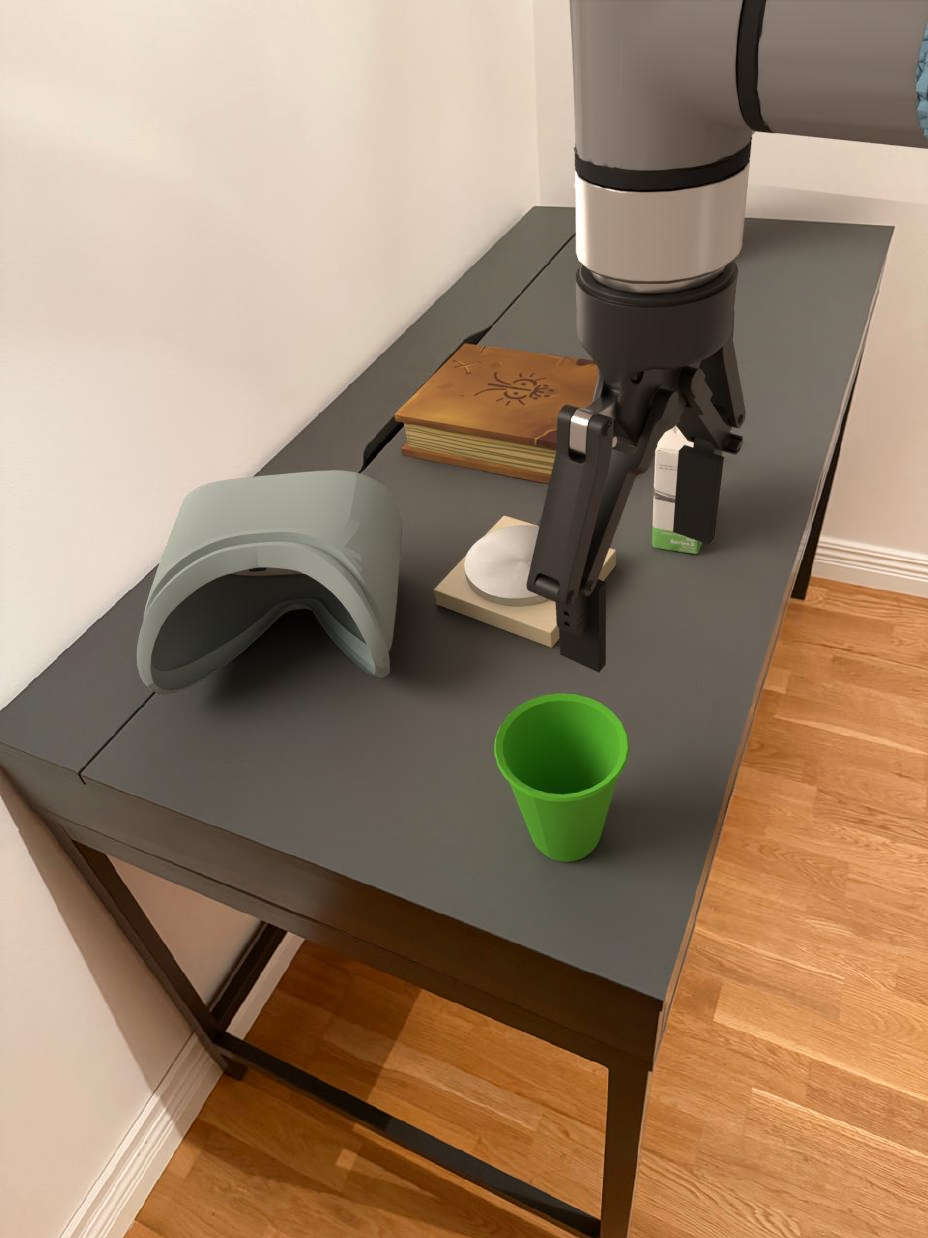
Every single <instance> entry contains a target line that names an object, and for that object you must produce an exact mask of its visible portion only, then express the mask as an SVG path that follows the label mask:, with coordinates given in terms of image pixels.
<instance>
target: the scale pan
mask: <svg viewBox="0 0 928 1238" xmlns="http://www.w3.org/2000/svg"><path fill="white" fill-rule="evenodd" d="M539 526H540V525H537V526H531V525H520V526H511V527H506V528H502V529H499V530H496V531H494V532H491V533H489V534H487V533H486V534H487V535H486V534H485V535H484V536H482V537H480V538H479V539H478V540H477V541H475V542H474V543H473V544H472V545H471V547H470V548H469V550H468V551H467V553H466V555H465V556H466V558H465V562H464V569H465V576H466V580H467V582H468V584H469V586H470V587H471V589H472V590H473V591H474V592H475V593H477V594H478V595H479V596H481V597H482V598H484V599H486V600H488V601H490V602H493V603H497V604H501V605H507V606H528V605H534V604H538V603H542V602H545V601H547V600H549V599H547V598H544V597H542V596H540V595H538V594H535V593H533V592H531V591H528V590H527V587H526V585H527V579H528V575H529V570H530V566H531V561H532V557H533V553H534V548H535V544H536V539H537V535H538V530H539Z"/></svg>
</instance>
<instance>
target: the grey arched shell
mask: <svg viewBox="0 0 928 1238" xmlns="http://www.w3.org/2000/svg"><path fill="white" fill-rule="evenodd" d="M402 536H403V520H402V516H401V512H400V509H399V506H398V503H397V502H396V500H395V498H394V496H393V495H392V493H391V492H390V491H389V489H387V487H386V486H384V485H383V484H382V483H380V482H379V481H378V480H376V479H374V478H372V477H370V476H368V475H365V474H362V473H360V472H355V471H351V470H339V469H338V470H337V469H336V470H333V469H331V470H315V471H314V470H313V471H299V472H290V473H281V474H280V473H279V474H268V475H267V474H266V475H259V476H258V475H257V476H256V475H255V476H247V477H238V478H230V479H223V480H216V481H214V482H208V483H206V484H203V485H200V486H198V487H196V488H195V489H193V490H192V491H190V492H189V493H188V494H187V495H186V496H185V497H184V498H183V499H182V502H181V505H180V508H179V509H178V513H177V516H176V519H175V520H174V523H173V526H172V528H171V531H170V534H169V537H168V539H167V542H166V545H165V547H164V550H163V552H162V555H161V558H160V560H159V563H158V566H157V569H156V572H155V575H154V578H153V581H152V584H151V587H150V590H149V594H148V597H147V600H146V603H145V607H144V612H143V621H142V624H141V628H140V630H139V635H138V640H137V646H136V665H137V670H138V675H139V677H140V679H141V680H142V683H143V684H144V685H145V686H146V687H147V688H148V689H149V690H150V691H152V692H153V693H156V694H158V695H169V694H170V695H171V694H175V693H177V692H178V693H179V692H181V691H183V690H186V689H188V688H190V687H192V686H194V685H197V683H200V682H201V681H203V680H206V679H207V678H209V676H211V675H213V674H215V673H216V672H218V671H219V670H220V669H222V668H224V667H225V666H226V665H227V664H229V663H230V662H232V661H233V660H234V659H236V658H237V657H238V656H240V654H242V653H243V652H244V651H246V650H247V649H248V648H249V647H250V646H251V645H252V644H253V643H255V642H256V641H257V640H258V639H259V638H260V637H261V636H262V635H263V634H264V633H265V632H266V631H268V629H270V628H271V626H272V625H273V624H275V622H276V621H277V620H278V619H279V618H281V617H282V616H283V615H284V614H286V613H289V612H291V611H295V610H309V611H312V613H313V615H314V616H315V618H316V619H317V621H318V623H319V624H320V626H321V627H322V629H323V631H324V632H325V633H326V634H327V635H328V637H329V638H330V639H331V641H332V642H333V643H334V644H335V645H336V647H338V649H340V651H342V652H343V654H344V655H345V656H346V657H347V658H348V659H349V660H351V662H353V663H354V664H355V665H356V666H357V667H359V669H361V670H363V671H364V672H365V673H366V674H369V675H371V676H373V677H377V678H381V679H384V678H385V677H386V676H388V675H389V674H390V673H391V665H390V664H391V663H390V654H389V653H390V651H391V649H392V645H393V639H394V632H395V631H394V630H395V622H396V613H397V603H398V592H399V591H398V590H399V576H400V565H401V564H400V563H401V551H402V539H403V538H402Z"/></svg>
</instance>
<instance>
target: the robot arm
mask: <svg viewBox="0 0 928 1238" xmlns="http://www.w3.org/2000/svg"><path fill="white" fill-rule="evenodd" d="M568 2H569V17H570V37H571V55H572V56H571V57H572V84H573V85H572V87H573V109H574V110H573V116H574V117H573V118H574V147H573V152H574V171H575V176H574V177H575V179H574V181H573V188H574V189H573V190H574V192H575V254H576V256H577V260H578V262H580V265H579V267H578V269H577V270H576V273H575V314H576V315H575V316H576V317H575V320H576V336H577V340H578V342H579V344H580V345H581V347H582V348H583V349H584V351H585V352H586V353H587V354H588V355H589V356H590V358H591V360H593V361H594V362H595V363H596V365H597V367H598V370H599V372H598V379H597V384H596V388H595V392H594V396H593V402H592V403H590V404H589V405H587V406H586V407H584V408H578V407H575V406H572V405H568V404H566V405H564V406H563V407H562V408H561V410H560V412H559V414H558V418H557V438H556V455H555V459H554V464H553V468H552V473H551V477H550V482H549V484H548V487H547V491H546V496H545V499H544V500H545V501H544V504H543V509H542V513H541V517H540V522H539V525H538V526H539V530H538V535H537V539H536V544H535V548H534V553H533V557H532V561H531V566H530V570H529V575H528V579H527V585H526V587H527V590H528V591H531V592H533V593H535V594H538V595H540V596H542V597H544V598H547V599H549V600H551V601H554V602H555V604H556V616H557V617H556V624H557V626H558V628H559V639H558V640H559V655H560V656H562V657H564V658H567V659H568V660H570V661H573V662H575V663H577V664H579V665H581V666H584V667H585V668H587V669H590V670H591V671H594V672H596V673H600V672H602V670H603V669H604V668H605V666H606V665H607V581H605V580H604V581H602V580H600V579H598V578H599V575H600V572H601V570H602V567H603V564H604V562H605V559H606V556H607V553H608V551H609V548H611V545H612V543H613V540H614V537H615V534H616V532H617V530H618V526H619V524H620V522H621V518H622V515H623V513H624V510H625V507H626V505H627V502H628V499H629V496H630V494H631V491H632V488H633V486H634V483H635V480H636V478H637V476H638V475H642V474H644V473H646V472H647V471H648V470H649V468H650V465H651V462H652V460H653V458H654V455H655V451H656V448H657V444H658V442H659V440H660V439H661V438H662V436H663V435H664V433H665V432H666V431H668V430H670V429H672V428H673V427H674V426H677V428H678V429H679V430H680V432H681V433H682V434H683V435H684V437H685V438H686V439H687V441H690V442H693V443H694V445H693V447H690V446H687V445H684V446H683V447H682V448H681V449H680V450H679V453H678V467H677V481H676V495H675V509H674V523H673V532H674V533H677V534H680V535H683V536H686V537H688V538H691V539H694V540H697V541H700V542H702V544H706V545H709V546H710V545H711V544H712V543H713V542H714V541H715V539H716V532H717V524H718V515H719V505H720V497H721V488H722V478H723V471H724V470H723V469H724V462H725V461H724V460H725V456H723V452H724V453H728V454H730V455H734V456H737V455H738V454H739V453H740V451H741V449H742V446H743V443H744V437H743V436H742V435H739V434H737V433H732V432H731V430H732V428H734V429H740V428H742V426H743V424H744V423H745V421H746V415H747V413H746V406H745V400H744V394H743V389H742V383H741V378H740V377H741V376H740V372H739V367H738V361H737V360H738V359H737V355H736V350H735V343H734V330H735V303H736V293H737V284H738V275H739V274H738V273H739V268H738V264H737V263H736V261H735V258H736V257H738V256H739V255H740V252H741V250H742V249H743V240H744V238H743V237H744V229H745V219H746V209H747V208H746V206H747V197H748V187H749V177H750V167H751V166H750V165H751V152H752V142H753V141H752V140H753V135H752V131H756V132H755V133H766V134H781V135H789V136H799V137H810V138H817V139H818V138H820V139H828V140H839V141H849V142H857V143H866V144H874V145H875V144H877V145H886V146H894V147H905V148H914V149H915V148H916V149H924V150H928V0H568ZM618 443H620V444H623V445H626V446H630V447H633V448H635V450H634V451H633V452H631V453H627V452H624V451H621V450H619V449H615V447H616V446H617V444H618Z"/></svg>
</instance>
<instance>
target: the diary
mask: <svg viewBox="0 0 928 1238" xmlns="http://www.w3.org/2000/svg"><path fill="white" fill-rule="evenodd" d="M598 372H599V370H598V367H597V365H596V363H595V362H594V360H593V359H586V358H585V359H584V358H577V357H570V356H564V355H563V356H562V355H554V354H548V353H541V352H532V351H525V350H517V349H510V348H509V349H508V348H502V347H495V346H488V345H479V344H472V343H464V344H462V346H461V347H460V348H459V349H457V350H456V351H455V353H454V354H452V356H450V358H448V360H447V361H446V362H445V363H444V364H442V366H441V367H440V368H439V369H438V370H437V371H436V372H435V373H434V374H433V375H432V376H431V377H429V379H427V380H426V382H425V383H424V384H423V385H422V386H421V387H420V388H419V389H418V390H416V392H415V393H414V394H413V395H412V396H411V397H410V398H409V399H408V400H407V401H406V402H404V404H403V405H402V406H401V407H400V408H399V409H398V410H397V411H396V412H395V413H394V420H395V422H398V423H403V426H404V430H405V437H406V442H405V443H404V445H403V446H402V447H401V448H400V451H401V456H405V457H410V458H416V459H421V460H425V461H431V462H436V463H442V464H446V465H451V466H455V467H456V466H457V467H461V468H466V469H471V470H477V471H481V472H486V473H492V474H498V475H502V476H507V477H513V478H518V479H523V480H527V481H532V482H538V483H543V484H548V485H549V482H550V477H551V473H552V468H553V464H554V459H555V455H556V438H557V418H558V414H559V412H560V410H561V408H562V407H563V406H564V405H566V404H568V405H572V406H575V407H578V408H584V407H586V406H587V405H589V404H590V403H592V402H593V396H594V392H595V388H596V384H597V379H598Z"/></svg>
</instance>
